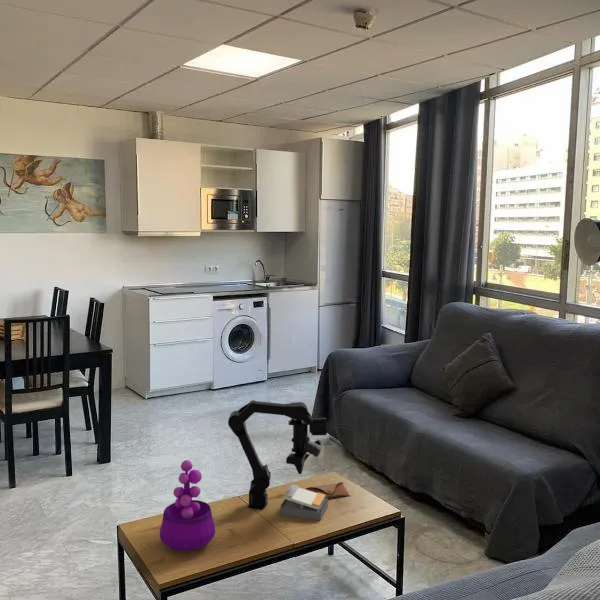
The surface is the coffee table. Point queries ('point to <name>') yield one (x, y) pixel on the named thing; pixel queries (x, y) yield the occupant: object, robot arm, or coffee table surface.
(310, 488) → the sunglasses case
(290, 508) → the box
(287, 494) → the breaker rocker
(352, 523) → the coffee table surface
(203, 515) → the decorative plant
